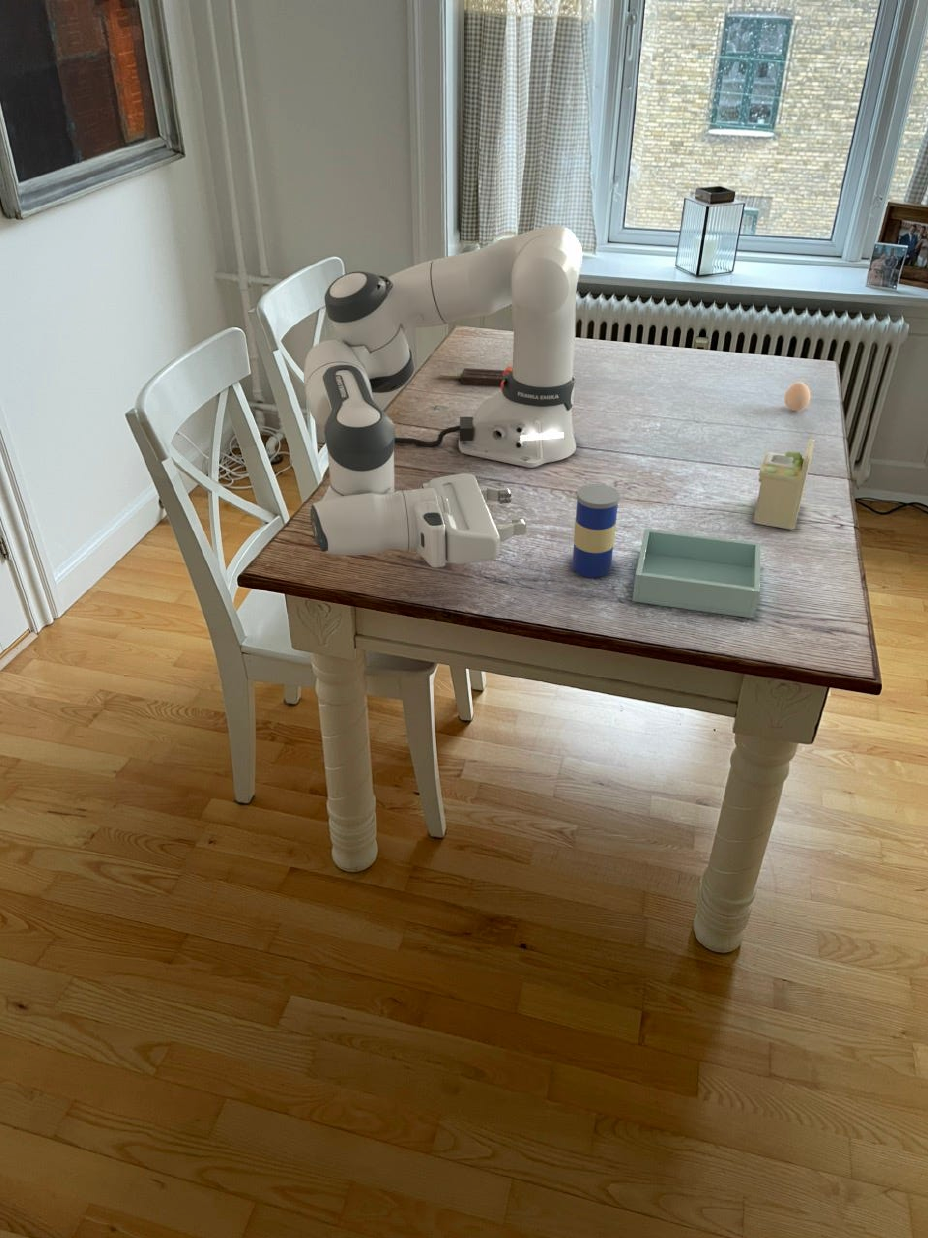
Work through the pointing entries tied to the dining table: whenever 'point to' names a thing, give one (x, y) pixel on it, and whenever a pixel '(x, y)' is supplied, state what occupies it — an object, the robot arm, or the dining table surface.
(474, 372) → the ice cream bar
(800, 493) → the toy sink
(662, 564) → the green tray
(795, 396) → the egg
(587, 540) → the snack tube
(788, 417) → the dining table surface
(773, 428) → the dining table surface
